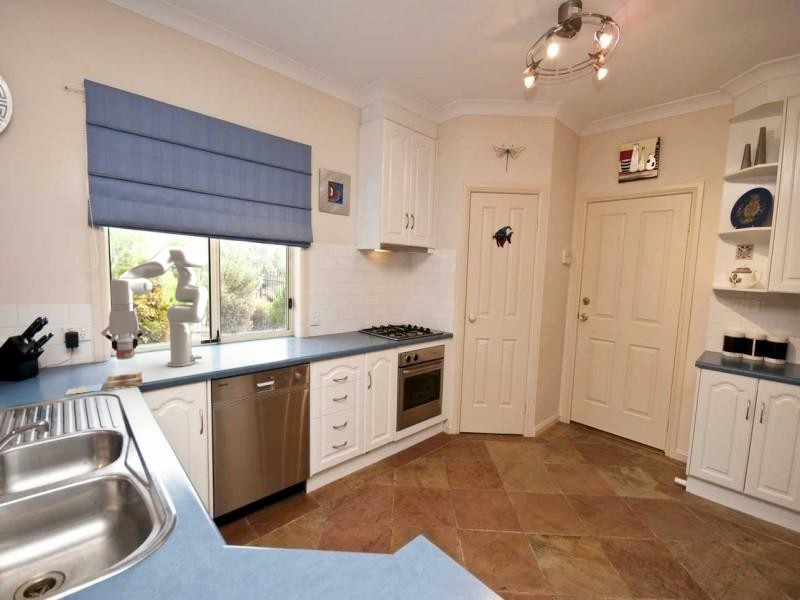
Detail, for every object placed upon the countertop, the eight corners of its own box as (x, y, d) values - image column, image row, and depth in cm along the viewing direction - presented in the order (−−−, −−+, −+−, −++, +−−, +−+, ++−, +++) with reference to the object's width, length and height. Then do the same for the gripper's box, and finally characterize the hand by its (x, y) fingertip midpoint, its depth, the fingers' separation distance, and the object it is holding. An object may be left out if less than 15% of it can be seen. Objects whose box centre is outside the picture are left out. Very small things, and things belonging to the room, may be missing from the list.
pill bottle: (122, 356, 159) (121, 331, 158) (137, 356, 159) (136, 331, 158) (112, 359, 153) (112, 334, 152) (128, 360, 153) (127, 334, 152)
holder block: (142, 378, 165) (141, 372, 164) (142, 385, 155) (141, 378, 155) (108, 382, 158) (108, 376, 157) (106, 390, 148) (105, 383, 148)
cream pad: (103, 383, 156) (103, 382, 156) (101, 390, 147) (101, 389, 147) (69, 388, 150) (69, 387, 150) (65, 395, 141) (65, 394, 141)
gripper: (147, 305, 162) (149, 345, 164) (97, 307, 152) (100, 349, 154) (148, 307, 156) (149, 348, 158) (95, 309, 146) (98, 353, 148)
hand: (125, 348), depth 156 cm, fingers closed on pill bottle, 6 cm apart
